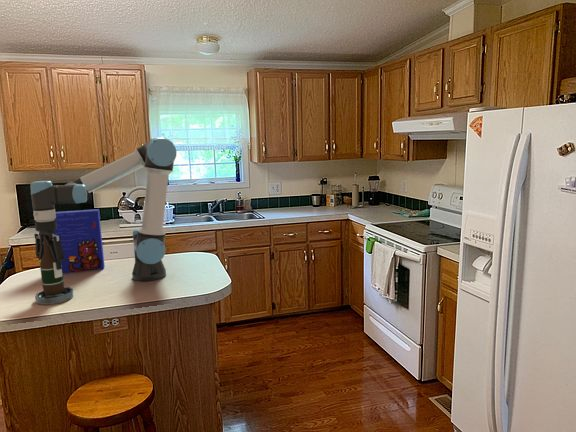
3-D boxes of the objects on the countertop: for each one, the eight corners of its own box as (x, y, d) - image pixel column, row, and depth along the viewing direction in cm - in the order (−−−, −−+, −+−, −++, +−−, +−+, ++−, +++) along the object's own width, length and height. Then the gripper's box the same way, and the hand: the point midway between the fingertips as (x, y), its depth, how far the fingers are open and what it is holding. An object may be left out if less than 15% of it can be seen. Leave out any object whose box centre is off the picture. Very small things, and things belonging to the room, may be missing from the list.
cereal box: (104, 266, 219) (98, 208, 213) (103, 269, 213) (97, 210, 208) (57, 271, 211) (50, 211, 206) (55, 274, 206) (47, 213, 201)
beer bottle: (62, 294, 170) (55, 236, 166) (41, 297, 168) (33, 237, 163) (66, 288, 177) (60, 232, 173) (46, 290, 175) (38, 233, 171)
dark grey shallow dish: (80, 293, 178) (79, 287, 178) (58, 305, 165) (57, 298, 165) (51, 292, 180) (51, 286, 180) (28, 304, 168) (27, 297, 167)
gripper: (20, 220, 169) (28, 274, 173) (52, 223, 159) (59, 282, 163) (39, 216, 175) (46, 269, 179) (70, 220, 165) (76, 276, 169)
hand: (52, 275), depth 171 cm, fingers closed on beer bottle, 8 cm apart
